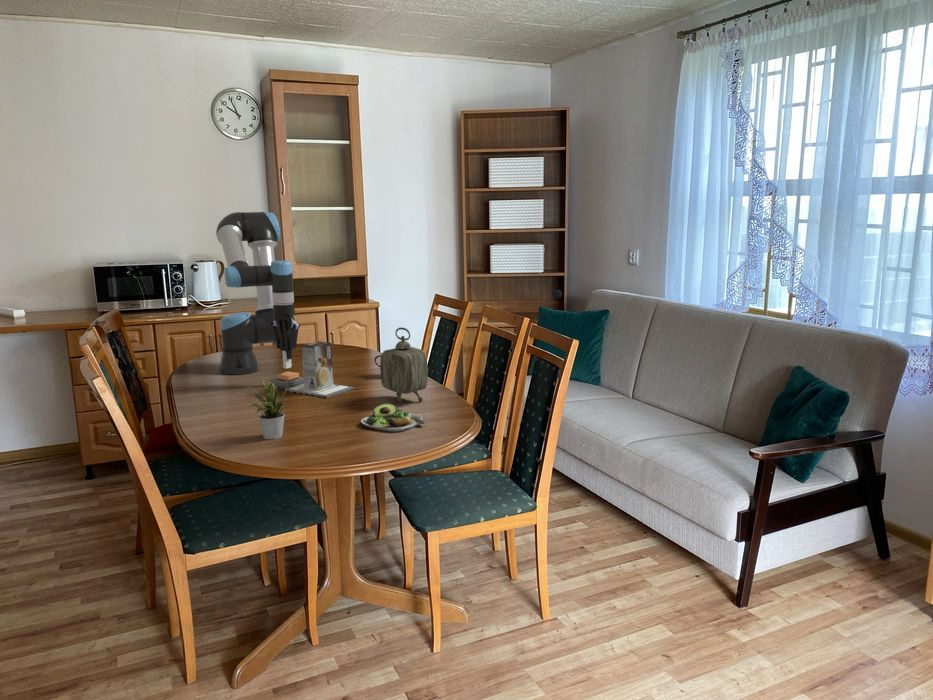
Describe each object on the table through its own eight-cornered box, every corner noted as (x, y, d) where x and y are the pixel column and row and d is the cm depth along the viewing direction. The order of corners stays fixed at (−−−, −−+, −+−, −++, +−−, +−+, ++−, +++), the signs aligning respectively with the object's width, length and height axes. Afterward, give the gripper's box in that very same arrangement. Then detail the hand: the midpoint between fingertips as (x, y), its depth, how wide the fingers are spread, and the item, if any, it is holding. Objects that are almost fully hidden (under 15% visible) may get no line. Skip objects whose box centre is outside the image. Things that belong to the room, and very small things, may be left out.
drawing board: (284, 391, 245) (284, 388, 245) (311, 382, 257) (311, 380, 257) (327, 398, 235) (327, 395, 235) (353, 389, 247) (353, 386, 247)
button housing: (270, 386, 252) (269, 379, 252) (288, 381, 260) (287, 374, 259) (288, 389, 247) (288, 382, 247) (306, 384, 255) (306, 377, 255)
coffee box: (320, 383, 252) (318, 340, 249) (334, 385, 249) (332, 342, 246) (303, 389, 244) (300, 345, 241) (317, 391, 241) (314, 346, 238)
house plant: (237, 433, 198) (233, 378, 194) (283, 425, 205) (280, 372, 202) (253, 447, 186) (249, 388, 183) (302, 437, 194) (298, 381, 191)
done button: (276, 378, 252) (276, 374, 252) (287, 375, 257) (287, 371, 257) (288, 380, 249) (287, 376, 249) (299, 377, 254) (298, 373, 254)
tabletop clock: (428, 401, 230) (427, 328, 225) (408, 407, 223) (407, 331, 218) (398, 394, 239) (396, 323, 235) (379, 399, 233) (376, 327, 228)
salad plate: (439, 421, 210) (439, 406, 209) (406, 437, 194) (406, 422, 194) (387, 412, 219) (387, 398, 218) (352, 428, 204) (352, 412, 203)
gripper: (304, 303, 248) (307, 367, 252) (278, 301, 254) (282, 364, 258) (289, 305, 241) (293, 371, 246) (262, 304, 248) (267, 367, 252)
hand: (287, 367), depth 252 cm, fingers closed
